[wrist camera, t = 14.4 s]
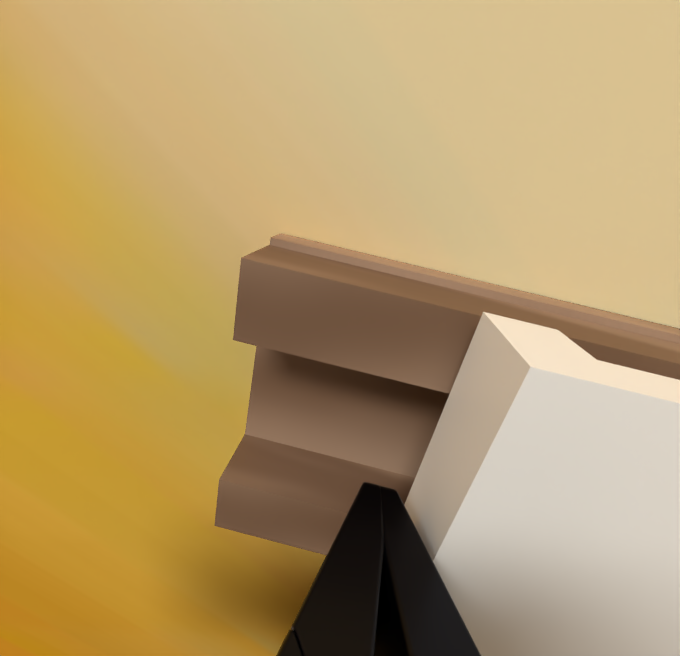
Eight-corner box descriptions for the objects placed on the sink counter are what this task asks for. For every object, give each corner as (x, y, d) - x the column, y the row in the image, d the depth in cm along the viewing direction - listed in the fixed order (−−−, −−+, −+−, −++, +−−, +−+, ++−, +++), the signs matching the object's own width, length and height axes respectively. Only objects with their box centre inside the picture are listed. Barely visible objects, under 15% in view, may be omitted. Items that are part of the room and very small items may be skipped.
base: (750, 589, 13) (1029, 888, 7) (248, 460, 13) (154, 648, 8) (969, 398, 9) (1807, 689, 4) (281, 233, 10) (154, 283, 4)
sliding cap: (523, 561, 12) (596, 751, 8) (373, 522, 12) (368, 689, 8) (674, 336, 8) (945, 468, 4) (460, 285, 9) (531, 367, 5)
